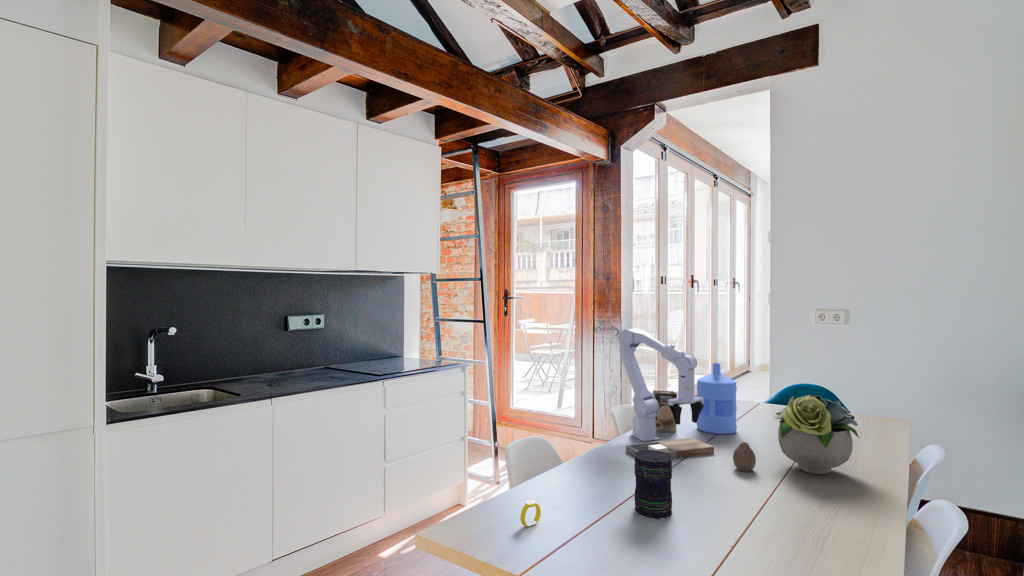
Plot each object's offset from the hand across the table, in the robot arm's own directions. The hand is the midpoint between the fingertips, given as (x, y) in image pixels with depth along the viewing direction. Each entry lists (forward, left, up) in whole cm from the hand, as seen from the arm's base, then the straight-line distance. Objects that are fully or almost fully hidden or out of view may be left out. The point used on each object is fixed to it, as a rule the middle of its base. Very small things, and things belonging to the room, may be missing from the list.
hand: (686, 423), depth 197 cm
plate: (+4, -3, -9) cm, 10 cm away
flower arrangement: (+35, +24, -9) cm, 43 cm away
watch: (+42, -78, -9) cm, 89 cm away
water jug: (-16, +28, -9) cm, 33 cm away
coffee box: (-23, +7, -9) cm, 26 cm away
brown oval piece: (+27, +3, -9) cm, 28 cm away
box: (+4, -18, -9) cm, 20 cm away
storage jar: (+45, -44, -9) cm, 64 cm away
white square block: (+4, -15, -9) cm, 18 cm away
